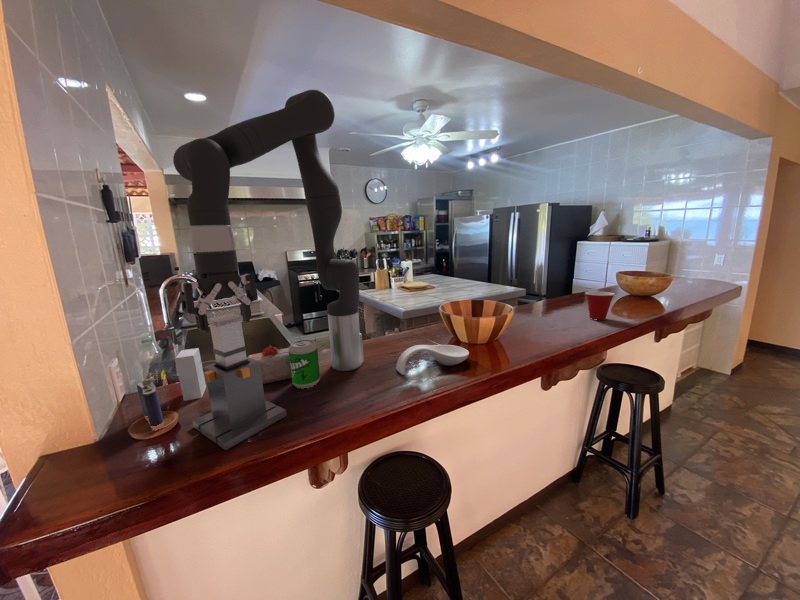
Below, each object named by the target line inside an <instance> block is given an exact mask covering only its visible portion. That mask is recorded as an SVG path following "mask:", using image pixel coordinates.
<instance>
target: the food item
mask: <svg viewBox="0 0 800 600" xmlns="http://www.w3.org/2000/svg"><path fill="white" fill-rule="evenodd" d="M288 348H289V347H287V348H280V349H279V348H277V346H276V347H275V346H272V345H271V344H269V345H268V347H267V346H266V347H265V348H263V349H262V352H259V353H253V354H249V355H248V356H247V357H249V358H252V359H254V360H257V361H260V368H261V375H262V383H263V385H267V384H271V383H276V382H281V380H282V381H285V380H286V379H287V380H290V379H291V378H292V376H291V368H290V359H289V350H288ZM291 380H292V379H291ZM275 381H276V382H275ZM266 383H267V384H266Z"/></svg>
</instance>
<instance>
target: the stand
mask: <svg viewBox="0 0 800 600" xmlns="http://www.w3.org/2000/svg"><path fill="white" fill-rule="evenodd" d="M246 357H247V359H248V363H247V364H245V365H242V366H240V367H237V368H234V369H232V370H229V371H226V372H225V371H223V370H221V369H218V368H217V367H216V365H215V362H214V363H211V364H208V365H205V366H203V373H204V379H205V383H206V388H207V393H208V397H209V404H210V407H211V408H210V409H211V412H209V413H207V414H204V415H202V416H200V417H198V418H195V419H194V420H192V425H193V428H194V429H195V430H197V431H198V432H200V433H201V434H202V435H203V436H204V437H207V438H208V439H209V440H211V441H212V442H214V444H217V445H218V446H219V447H220V448H222V449H223V450H225V451H227V450H229V449H230V448H233V447H235V446H236V445H237V444H240V443H241V442H243V441H245V440H246V439H248V438H250V437H252V436H254V435H256V434H257V433H259V432H261V431H262V430H264V429H266V428H268V427H270V426H272V425H273V424H275V423H277V422H278V420H279V421H281V420H282V419H284V418H286V417H287V409H285V408H283V407H281V406H279V405H277V404H275V403H272V402H271V401H268V399H267V400H266V399H265V398H266V397H265V391H264V384H263V383H262V375H261V368H260V361H257V360H254V359H252V358H249V357H248V356H246ZM276 421H277V422H276ZM269 425H270V426H269Z"/></svg>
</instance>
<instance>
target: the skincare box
mask: <svg viewBox="0 0 800 600" xmlns="http://www.w3.org/2000/svg"><path fill="white" fill-rule="evenodd" d="M174 360H175V364H176V365H175V366H176V369H177V375H178V380H179V384H180V390H181V395H182V399H183V401H184V402H187V401H192V400H196V399H201V398H203V395H204V393H205V391H206V389H207V383H206V381H205V379H204V367H203V363H202V358H201V353H200V349H199V347H197V348H196V347H195V348H189V349H181V350H180V351H179V353H178V354H177V356H175V358H174Z"/></svg>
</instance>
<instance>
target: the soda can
mask: <svg viewBox="0 0 800 600" xmlns="http://www.w3.org/2000/svg"><path fill="white" fill-rule="evenodd" d="M287 348H288V350H289V359H290V368H291V376H292V379H291V383H292V385H293V386H294V387H296V388H297V389H300V388H301V389H302V390H305V389H304V388H307V389H311V388H313V387H315V386H317V384H318V382H319V381H320V380H321V374H320V364H319V363H320V362H319V352H318V345H317V343H315V342H314V341H313V340H312V339H300V340H296V341H293V342H292V343H291V344H290V345H289V346H288V347H287ZM314 385H315V386H314ZM310 387H311V388H310ZM301 389H300V390H301Z"/></svg>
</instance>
